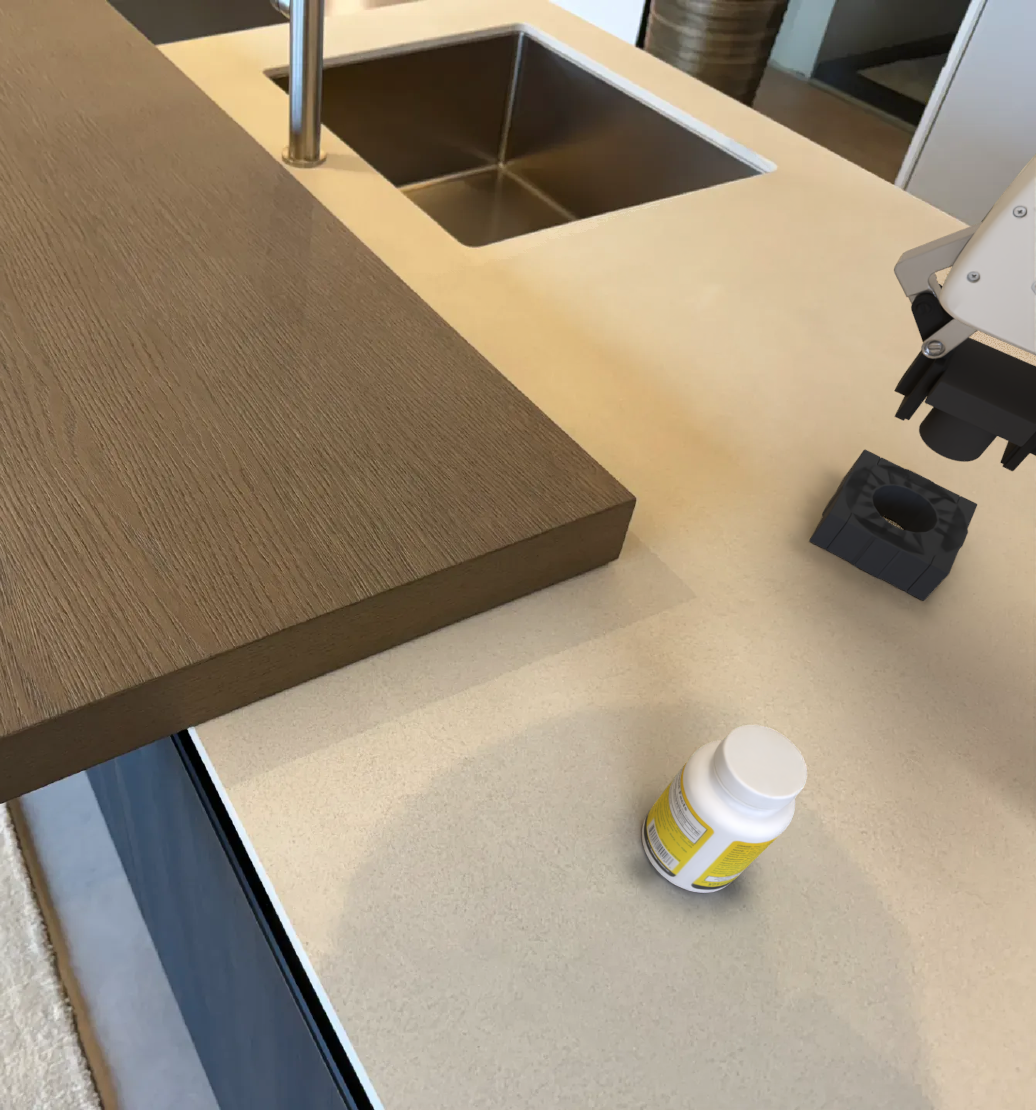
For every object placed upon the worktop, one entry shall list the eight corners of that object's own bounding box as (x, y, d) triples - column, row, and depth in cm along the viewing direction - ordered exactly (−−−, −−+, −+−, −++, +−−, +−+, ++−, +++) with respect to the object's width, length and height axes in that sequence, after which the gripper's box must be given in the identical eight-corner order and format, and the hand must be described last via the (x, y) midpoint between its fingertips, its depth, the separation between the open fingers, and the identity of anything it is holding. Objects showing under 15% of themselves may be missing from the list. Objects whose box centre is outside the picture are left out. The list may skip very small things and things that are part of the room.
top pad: (1005, 436, 58) (1058, 375, 55) (986, 487, 56) (1040, 426, 52) (916, 395, 60) (962, 333, 56) (893, 443, 57) (940, 381, 54)
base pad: (954, 532, 74) (980, 503, 72) (924, 603, 70) (950, 575, 67) (842, 476, 77) (863, 447, 74) (806, 541, 72) (827, 512, 70)
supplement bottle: (749, 833, 58) (835, 746, 50) (722, 914, 55) (809, 836, 47) (656, 783, 59) (727, 692, 52) (624, 860, 56) (694, 775, 49)
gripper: (985, 70, 44) (786, 395, 58) (1457, 237, 38) (1111, 549, 52) (1021, 13, 48) (827, 329, 62) (1450, 156, 42) (1131, 465, 57)
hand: (959, 427), depth 57 cm, fingers closed on top pad, 5 cm apart
